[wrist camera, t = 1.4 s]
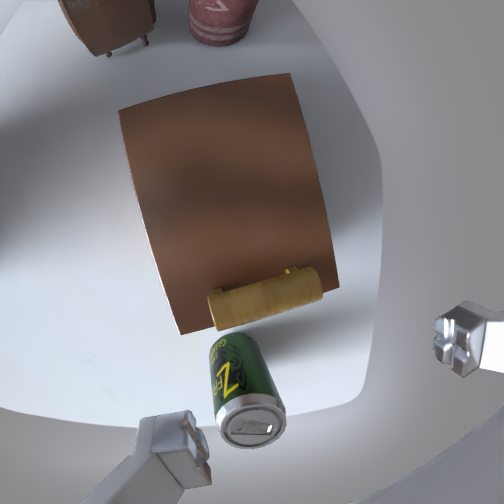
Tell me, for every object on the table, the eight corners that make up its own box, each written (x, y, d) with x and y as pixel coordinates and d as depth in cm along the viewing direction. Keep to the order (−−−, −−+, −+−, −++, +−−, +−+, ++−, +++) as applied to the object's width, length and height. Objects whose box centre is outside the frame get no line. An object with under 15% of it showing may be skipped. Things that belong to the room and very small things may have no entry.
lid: (335, 284, 21) (370, 307, 16) (180, 331, 20) (176, 368, 15) (287, 76, 18) (311, 45, 13) (120, 113, 17) (97, 89, 12)
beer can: (266, 337, 31) (300, 406, 19) (249, 377, 31) (273, 453, 20) (217, 324, 30) (229, 395, 18) (202, 367, 30) (208, 446, 19)
